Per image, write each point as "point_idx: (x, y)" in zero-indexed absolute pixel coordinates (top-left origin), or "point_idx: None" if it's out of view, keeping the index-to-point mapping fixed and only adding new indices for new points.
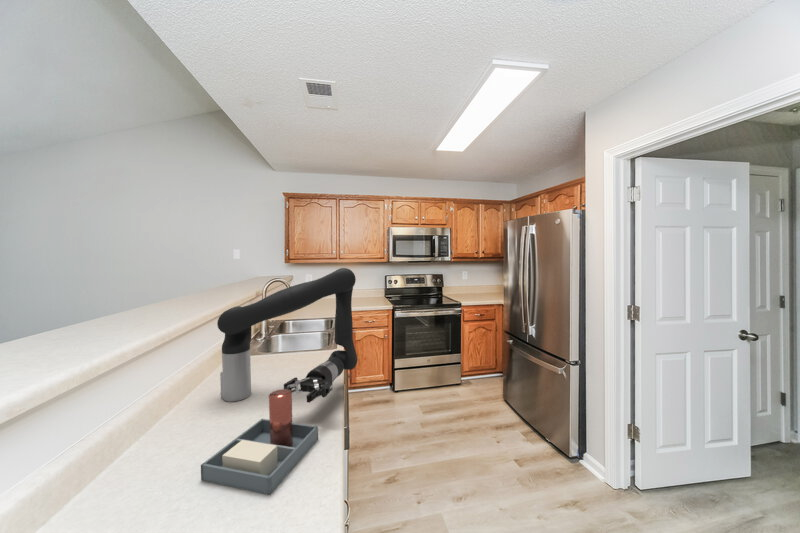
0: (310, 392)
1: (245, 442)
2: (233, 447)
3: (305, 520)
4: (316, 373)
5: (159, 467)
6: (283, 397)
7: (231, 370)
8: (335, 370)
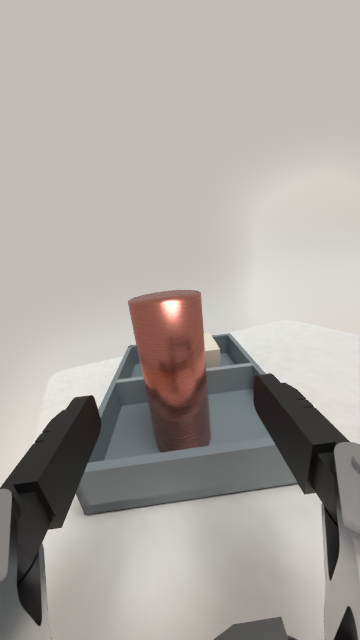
0: (69, 424)
1: (207, 348)
2: (212, 340)
3: (85, 367)
4: None
5: (321, 353)
6: (141, 296)
7: None
8: None
